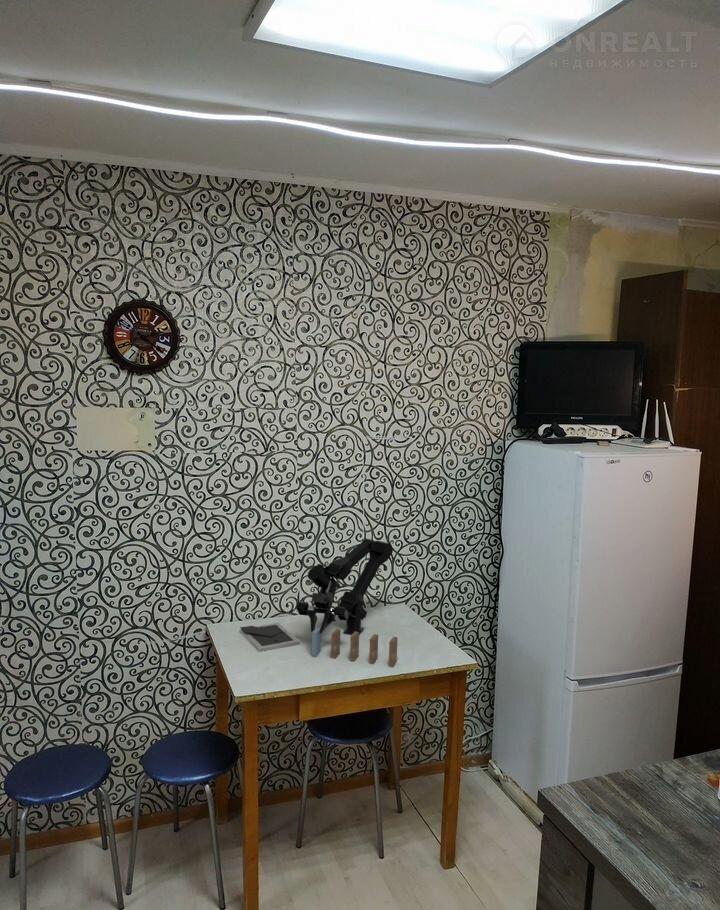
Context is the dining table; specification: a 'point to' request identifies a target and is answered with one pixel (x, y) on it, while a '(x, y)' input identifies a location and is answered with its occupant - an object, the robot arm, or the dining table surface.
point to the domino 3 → (354, 646)
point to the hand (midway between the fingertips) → (316, 632)
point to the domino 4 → (373, 649)
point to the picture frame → (269, 637)
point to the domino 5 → (393, 651)
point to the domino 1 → (316, 642)
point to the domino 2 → (335, 644)
